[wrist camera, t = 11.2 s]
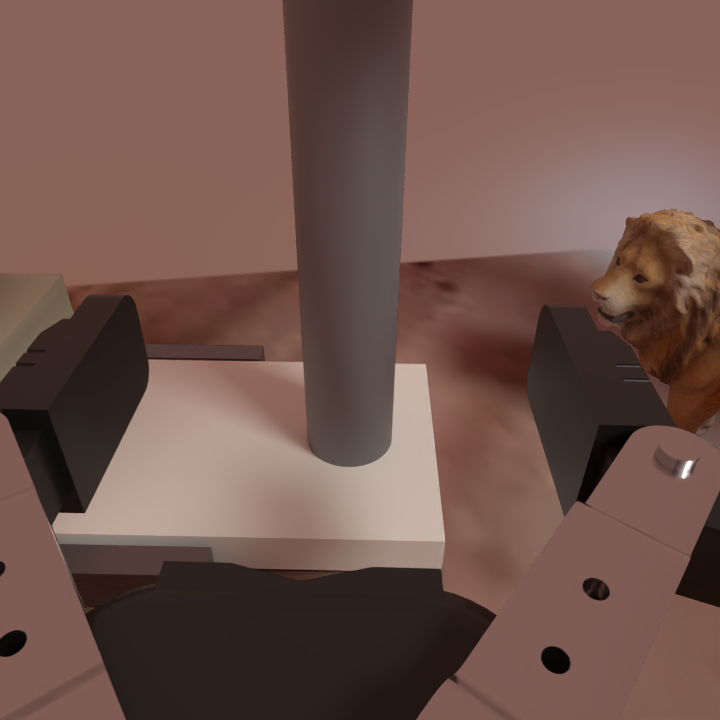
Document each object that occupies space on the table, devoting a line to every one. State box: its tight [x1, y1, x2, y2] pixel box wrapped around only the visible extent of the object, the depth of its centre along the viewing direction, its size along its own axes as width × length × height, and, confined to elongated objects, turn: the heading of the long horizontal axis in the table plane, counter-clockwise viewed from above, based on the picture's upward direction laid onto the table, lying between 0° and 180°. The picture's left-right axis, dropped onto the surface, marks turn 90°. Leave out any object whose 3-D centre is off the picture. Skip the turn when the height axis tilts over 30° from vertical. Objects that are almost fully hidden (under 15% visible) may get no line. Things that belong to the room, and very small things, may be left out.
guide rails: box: [60, 344, 265, 607], centre depth 23 cm, size 16×12×2 cm
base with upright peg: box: [52, 0, 445, 571], centre depth 19 cm, size 20×9×16 cm, turn 89°
